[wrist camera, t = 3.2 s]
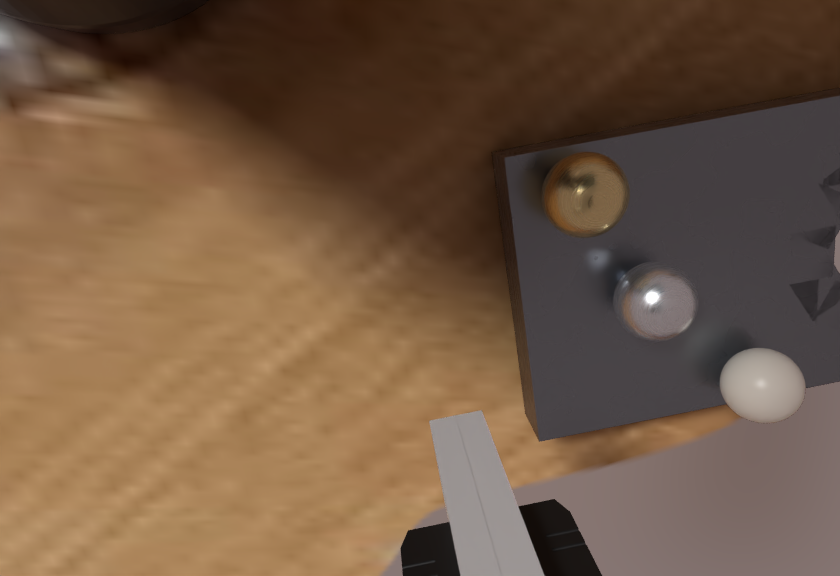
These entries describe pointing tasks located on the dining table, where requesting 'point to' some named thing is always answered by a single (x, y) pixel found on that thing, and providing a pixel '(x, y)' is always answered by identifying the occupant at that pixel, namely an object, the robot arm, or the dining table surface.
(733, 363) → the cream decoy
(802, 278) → the plate
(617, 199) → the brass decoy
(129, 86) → the dining table surface
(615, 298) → the steel ball
